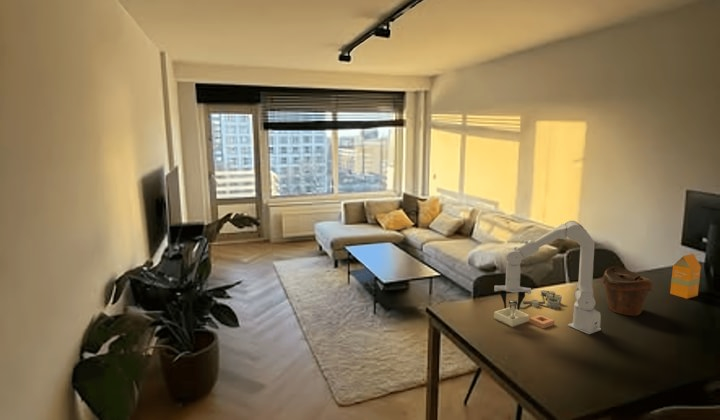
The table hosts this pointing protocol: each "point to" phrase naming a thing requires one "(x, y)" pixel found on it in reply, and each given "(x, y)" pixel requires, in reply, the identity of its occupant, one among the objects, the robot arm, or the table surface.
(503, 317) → the tray
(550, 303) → the pulley system
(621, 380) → the table surface
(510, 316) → the pin
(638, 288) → the terracotta flower pot
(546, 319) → the block
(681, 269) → the orange juice
